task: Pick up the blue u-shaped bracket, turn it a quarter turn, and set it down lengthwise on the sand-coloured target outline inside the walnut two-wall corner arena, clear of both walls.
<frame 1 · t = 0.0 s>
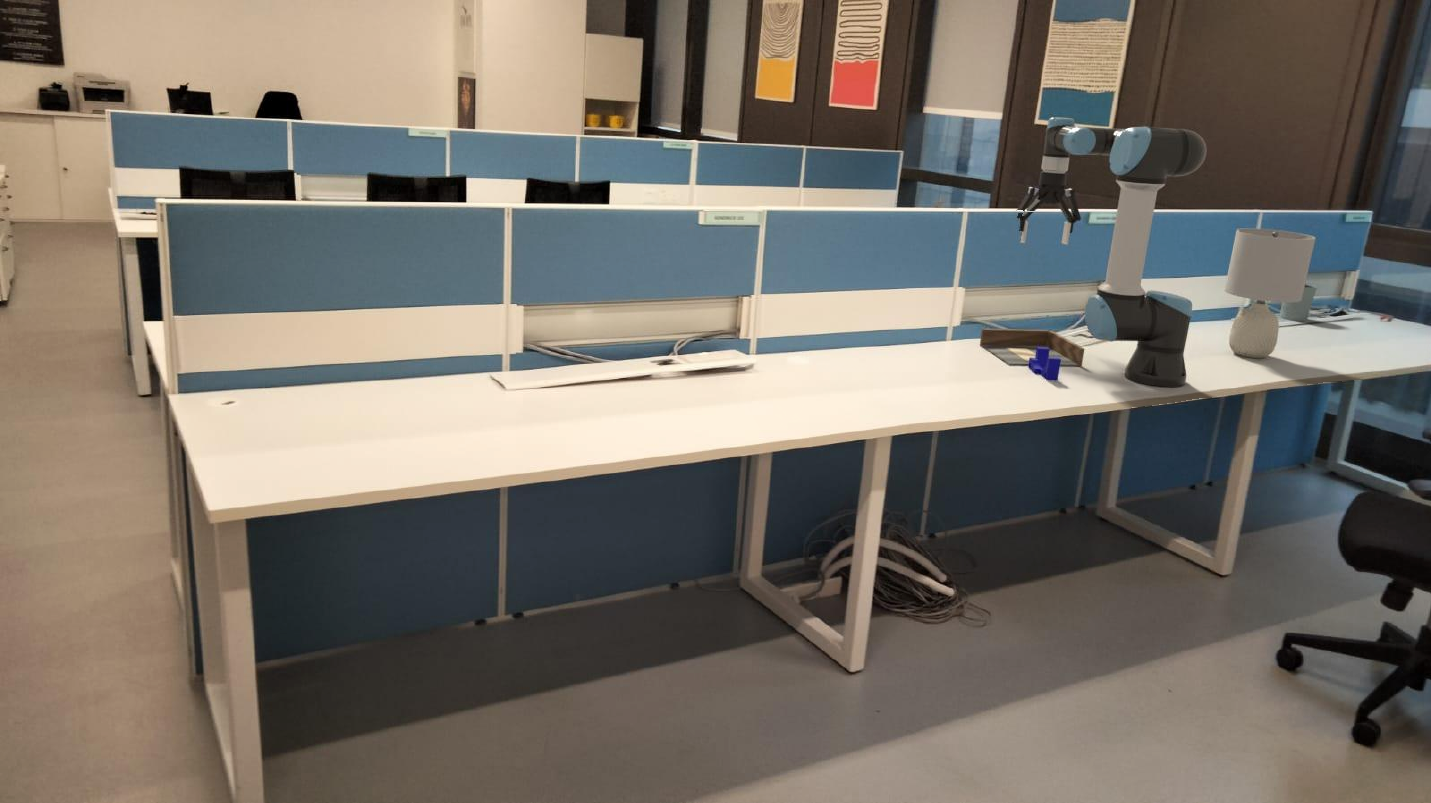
hand: (1043, 243, 315), 28 cm above the table, fingers open, 13 cm apart
blue u-shaped bracket: (1042, 375, 278), on the table
grey tapered pot: (1293, 318, 367), on the table
lamp: (1249, 355, 311), on the table
corner arena: (1028, 356, 296), on the table
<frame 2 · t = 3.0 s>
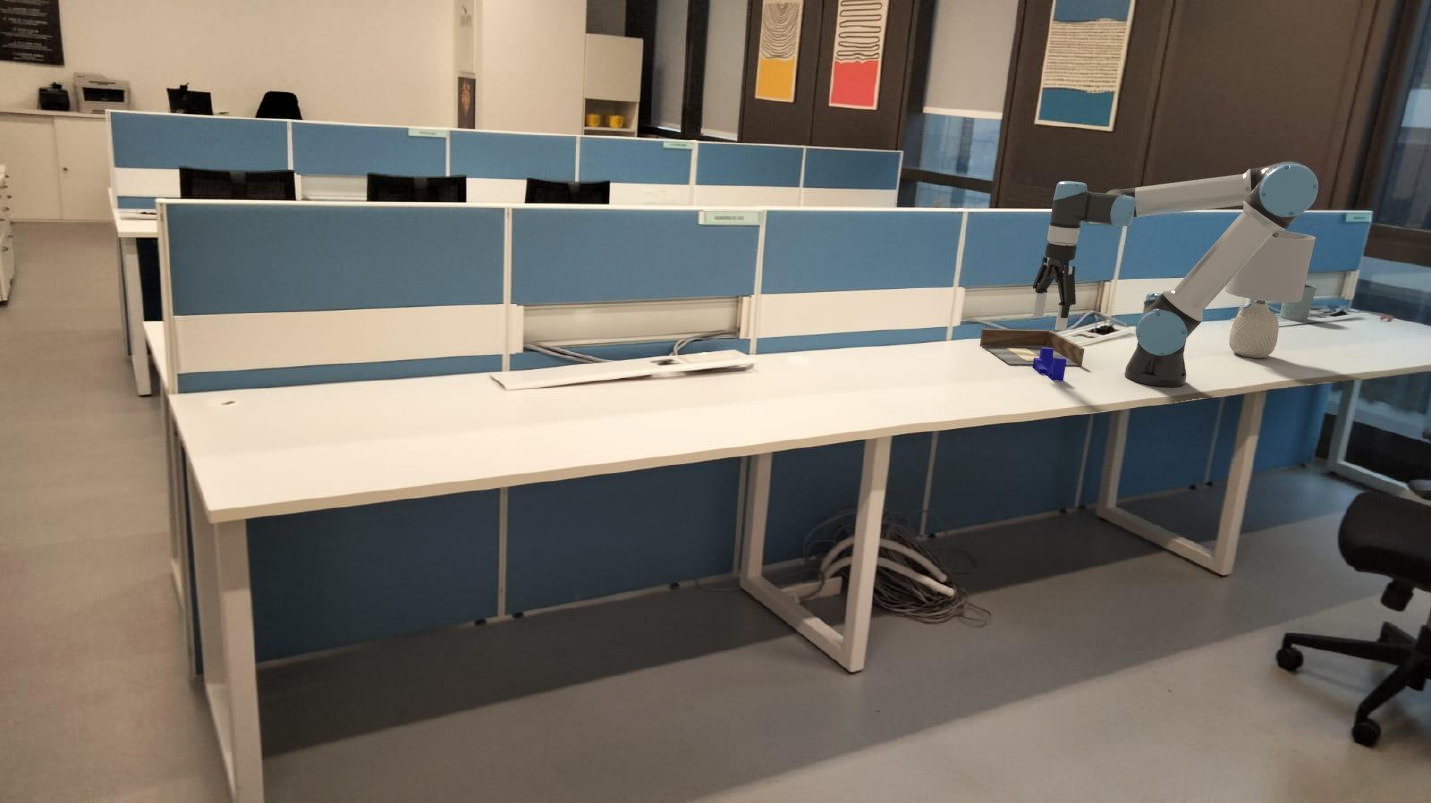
hand: (1048, 323, 274), 14 cm above the table, fingers open, 13 cm apart
blue u-shaped bracket: (1047, 375, 278), on the table
everything else where it was.
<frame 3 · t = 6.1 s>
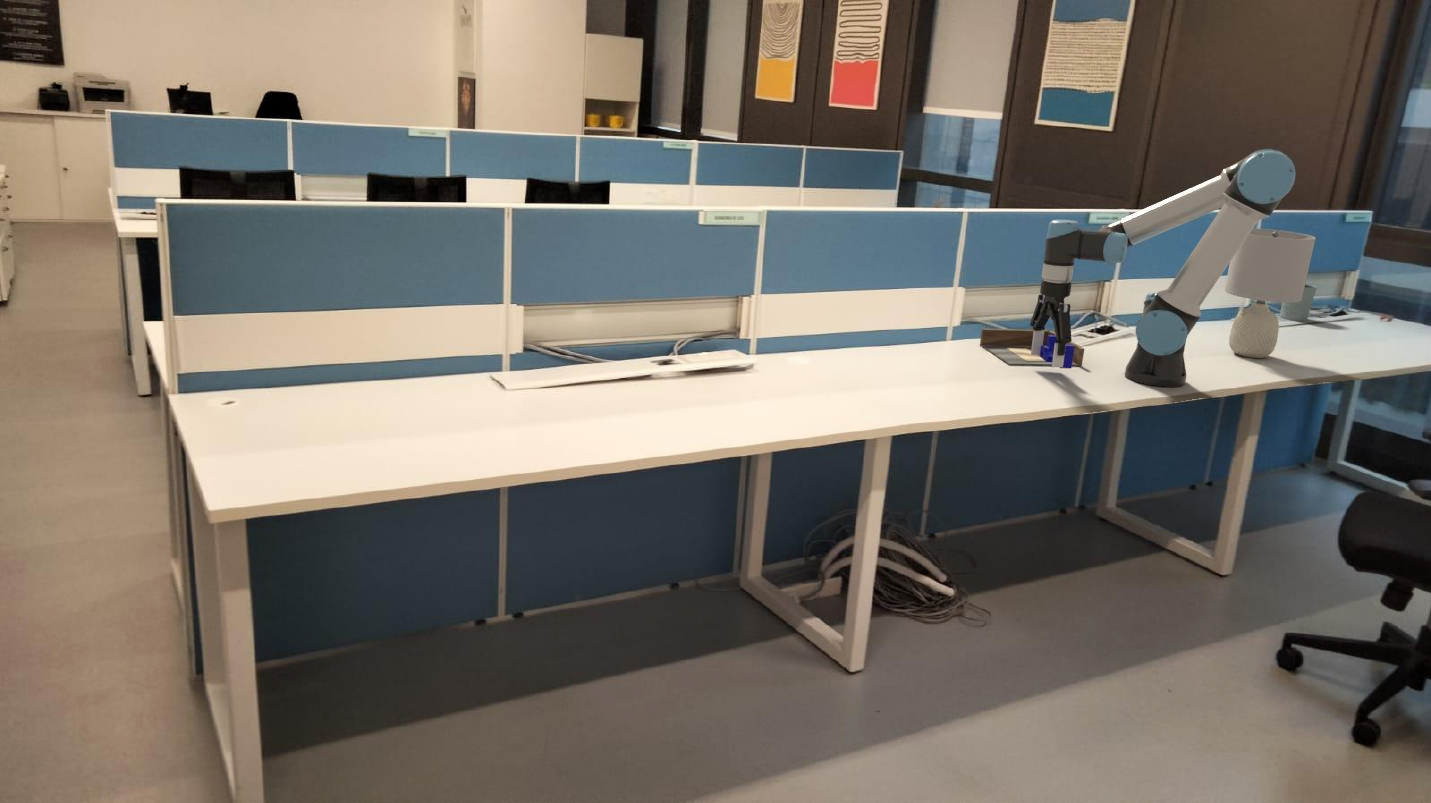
hand: (1046, 360, 277), 4 cm above the table, fingers closed on blue u-shaped bracket, 12 cm apart
blue u-shaped bracket: (1055, 363, 277), point 3 cm above the table, touching gripper
everything else where it was.
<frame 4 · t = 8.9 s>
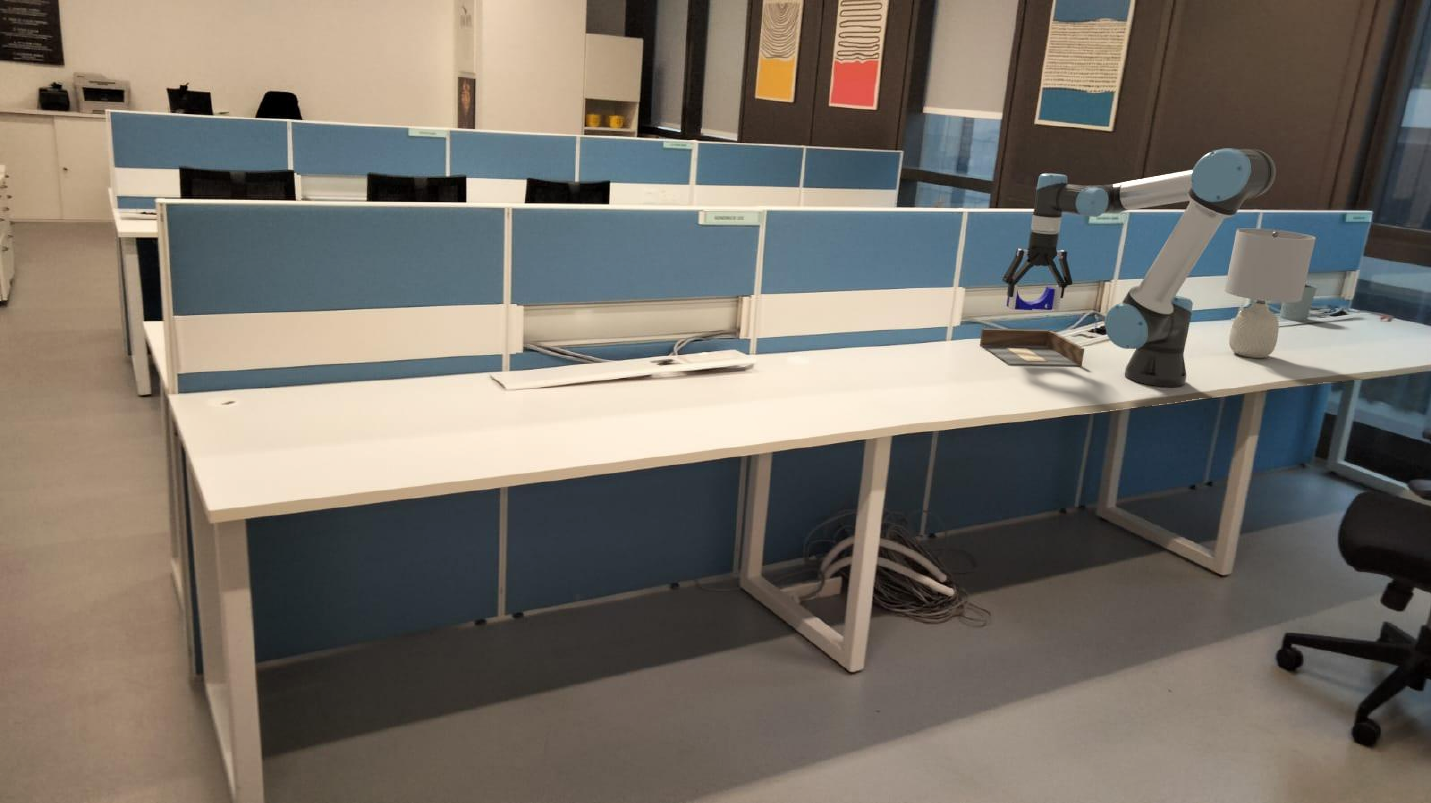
hand: (1033, 309, 290), 14 cm above the table, fingers closed on blue u-shaped bracket, 12 cm apart
blue u-shaped bracket: (1029, 309, 293), point 13 cm above the table, touching gripper
everything else where it was.
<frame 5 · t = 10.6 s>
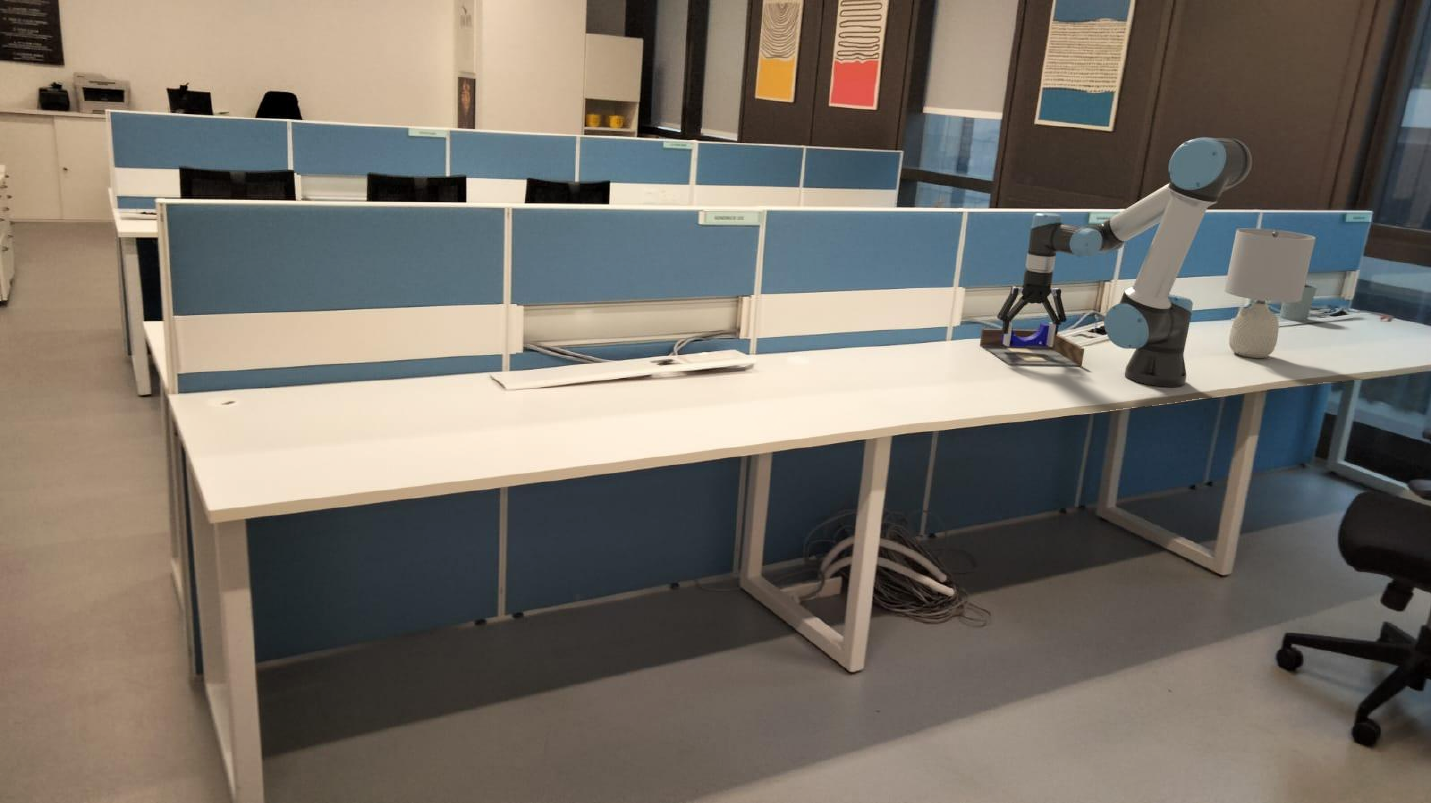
hand: (1027, 345, 294), 3 cm above the table, fingers closed on blue u-shaped bracket, 12 cm apart
blue u-shaped bracket: (1024, 345, 296), point 3 cm above the table, touching gripper
everything else where it was.
when the fingers open (2 cm above the table, at t = 12.0 s): blue u-shaped bracket drops 1 cm, resting on corner arena.
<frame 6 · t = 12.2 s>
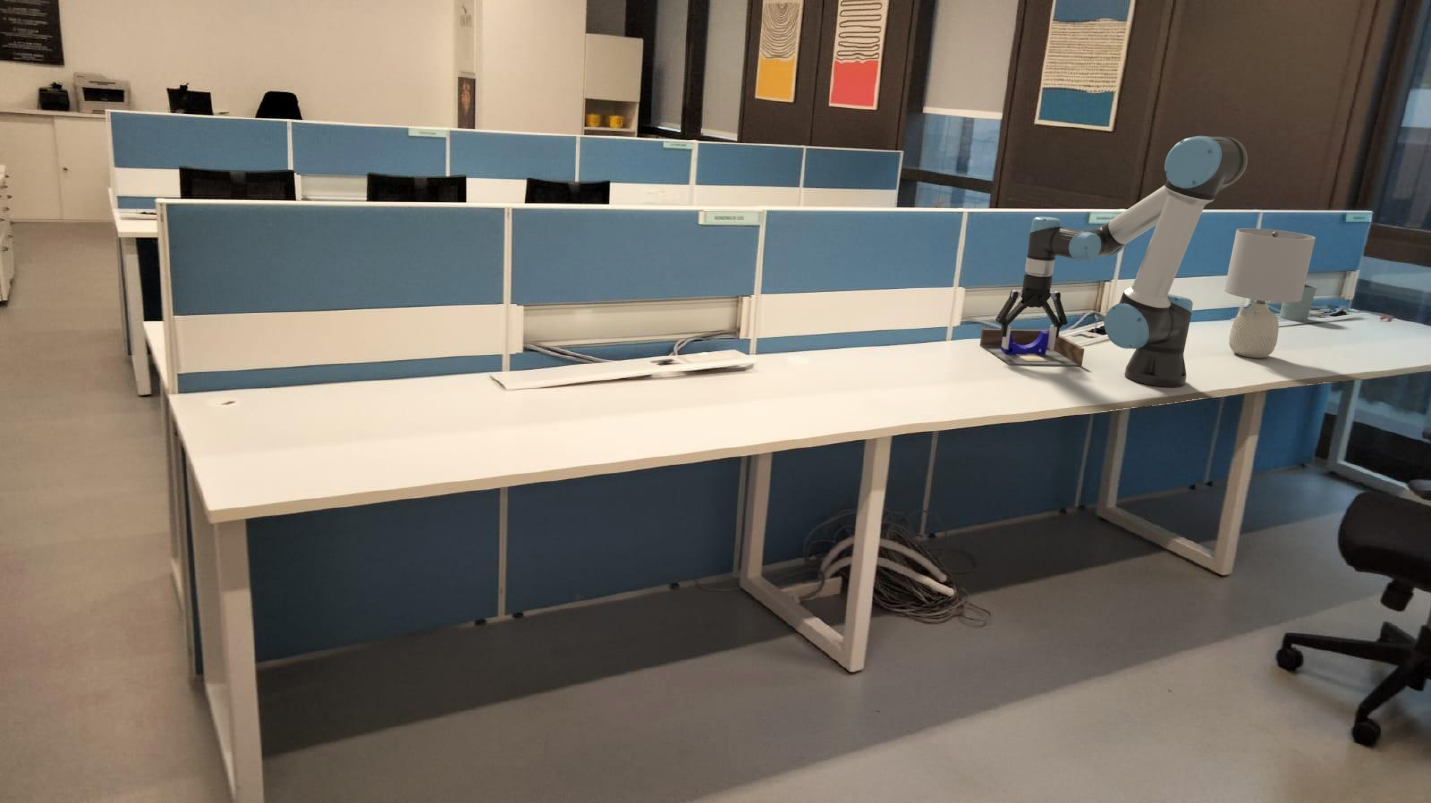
hand: (1027, 348, 294), 2 cm above the table, fingers open, 13 cm apart
blue u-shaped bracket: (1023, 353, 297), resting on corner arena
everything else where it was.
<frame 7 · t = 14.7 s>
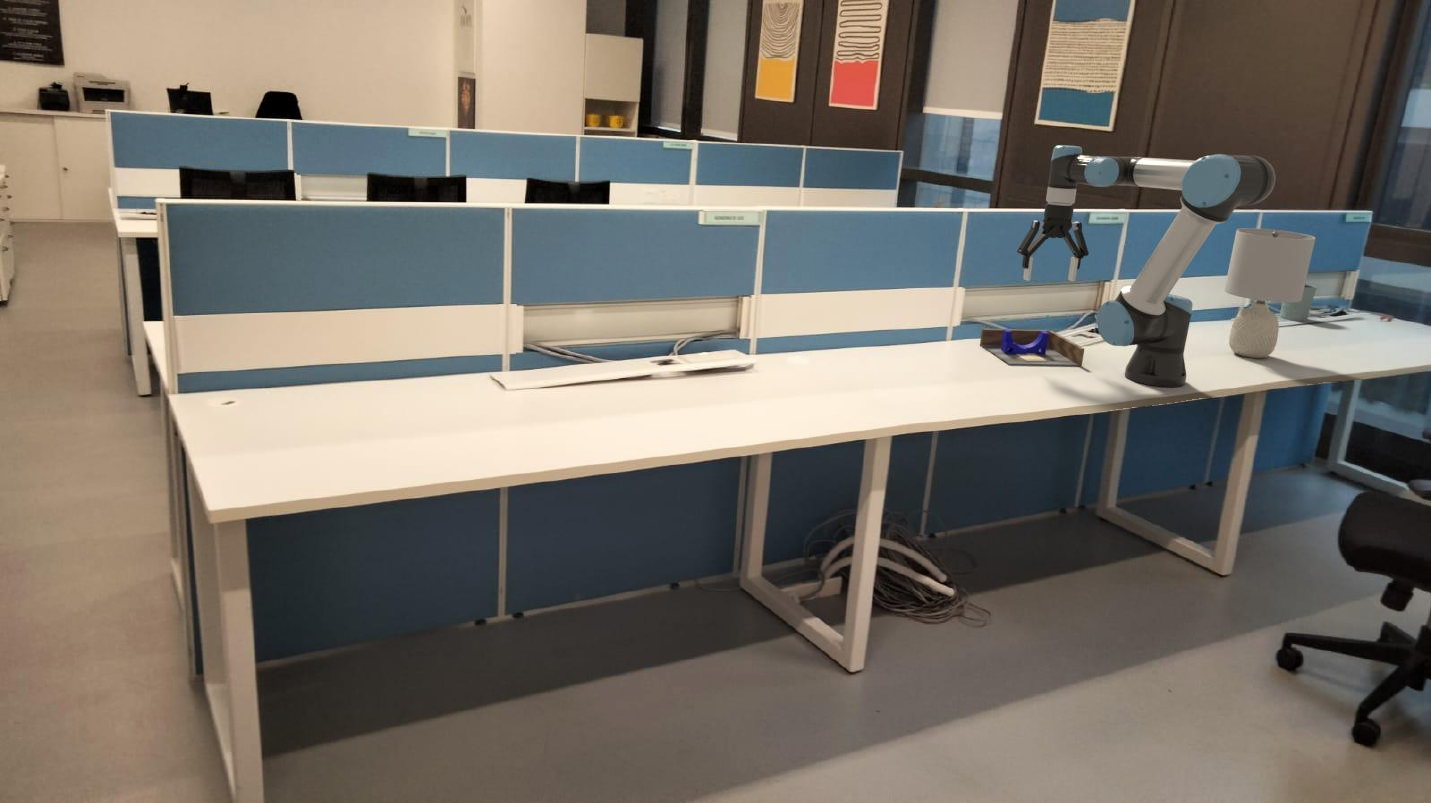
hand: (1049, 280, 291), 21 cm above the table, fingers open, 13 cm apart
nothing on the table moved.
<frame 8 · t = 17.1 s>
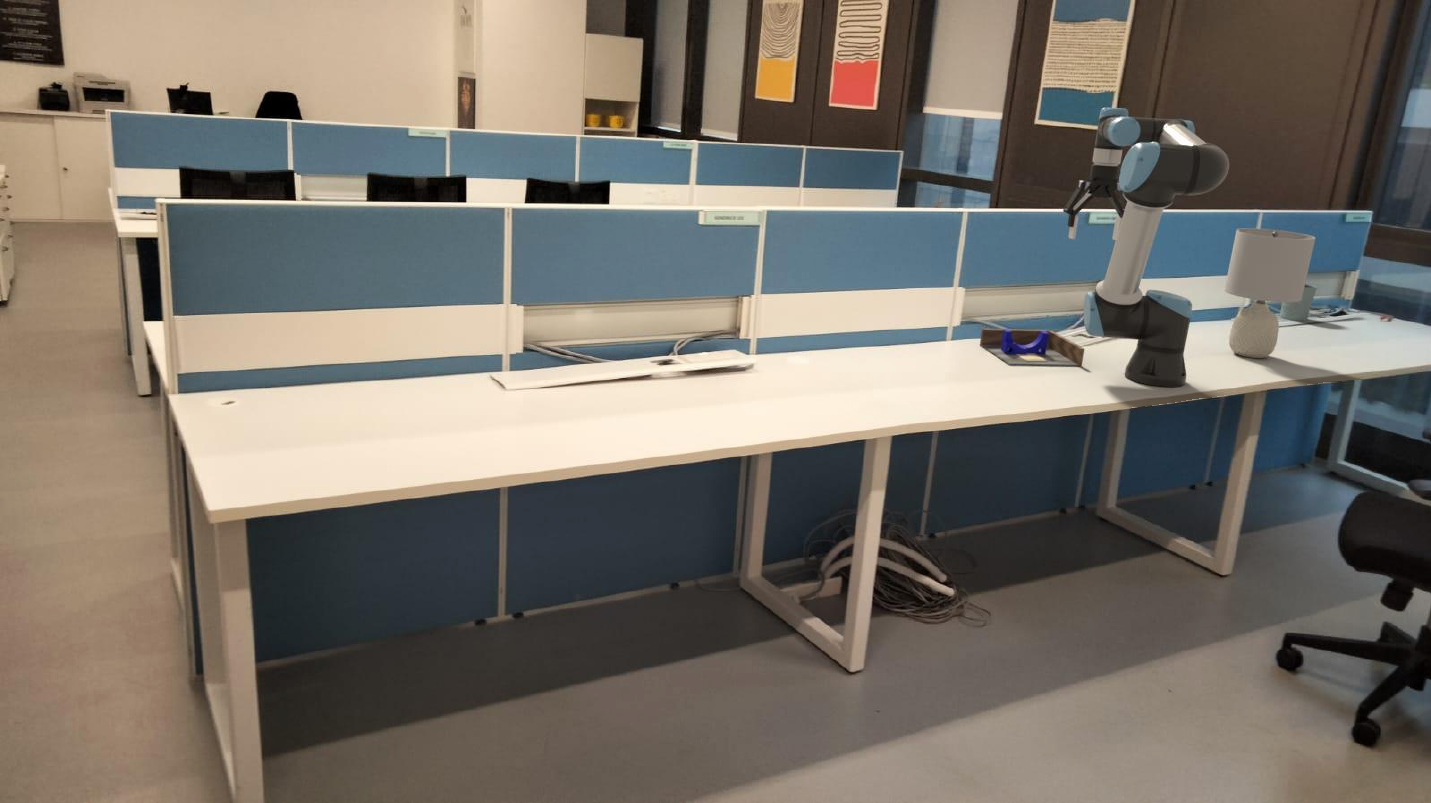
hand: (1093, 239, 301), 32 cm above the table, fingers open, 13 cm apart
nothing on the table moved.
at the end: blue u-shaped bracket inside the target area (2.5 cm from its centre), point 0.5 cm above the table; blue u-shaped bracket tilted 0°; the gripper is holding nothing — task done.
